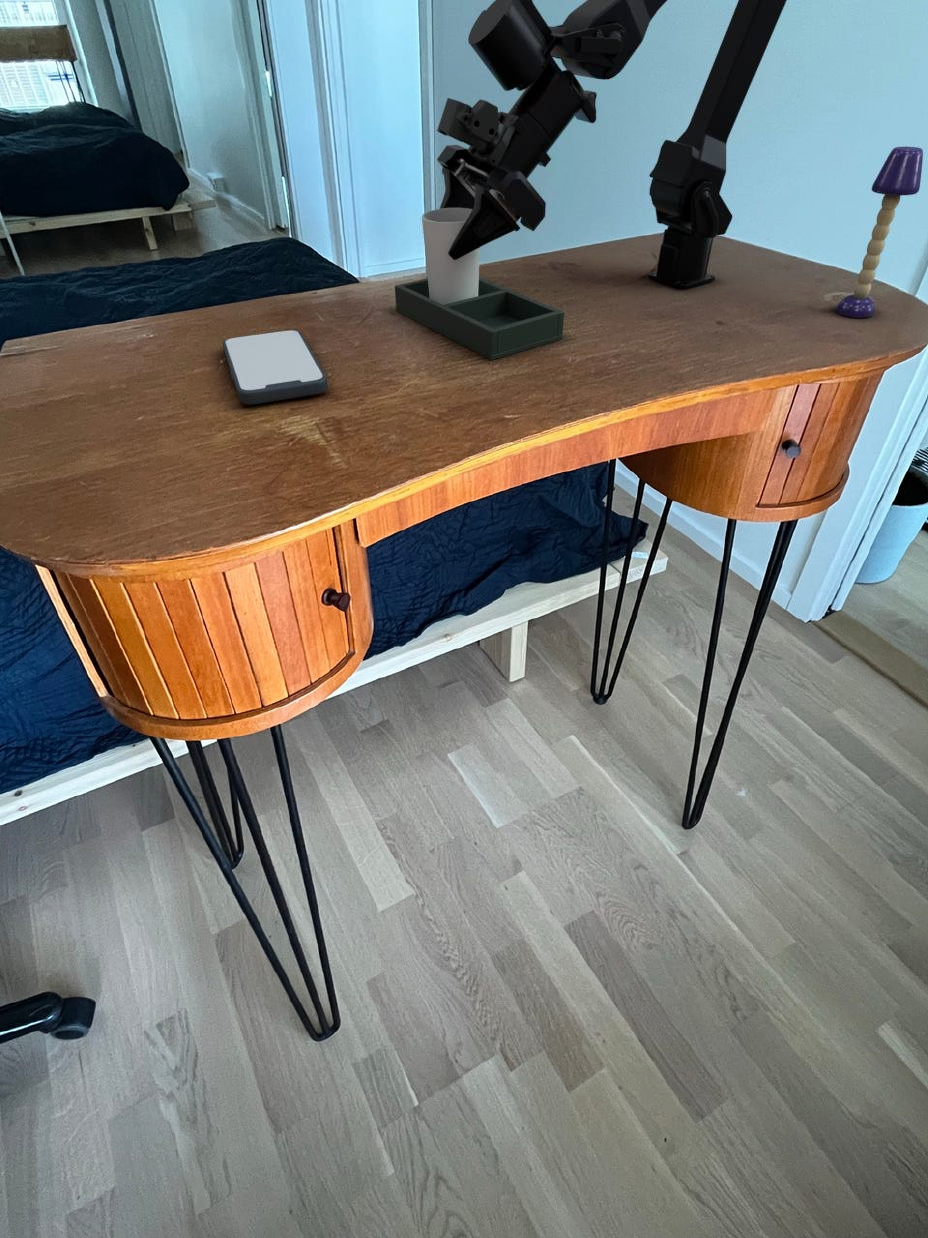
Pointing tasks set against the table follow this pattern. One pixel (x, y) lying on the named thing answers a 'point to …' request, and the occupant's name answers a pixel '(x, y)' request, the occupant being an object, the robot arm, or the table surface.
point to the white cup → (448, 257)
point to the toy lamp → (884, 222)
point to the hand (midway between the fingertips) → (440, 249)
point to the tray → (484, 318)
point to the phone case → (273, 367)
